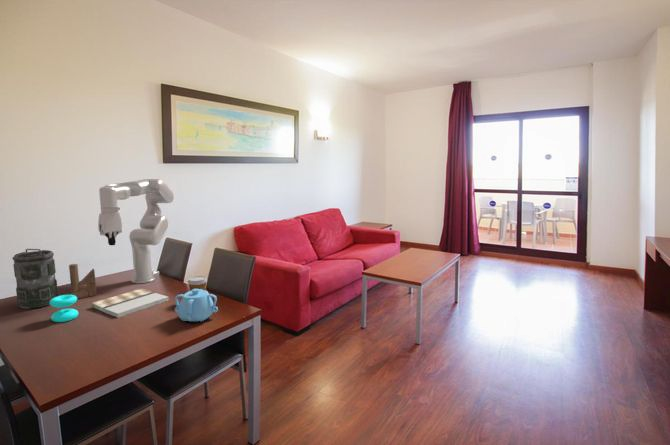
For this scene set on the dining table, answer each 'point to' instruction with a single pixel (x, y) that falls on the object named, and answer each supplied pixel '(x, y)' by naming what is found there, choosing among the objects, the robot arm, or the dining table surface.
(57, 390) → the dining table surface
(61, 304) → the donuts
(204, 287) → the glass of beer
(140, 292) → the plank
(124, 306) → the board
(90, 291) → the wooden block
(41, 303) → the canister
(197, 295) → the decorative pot
